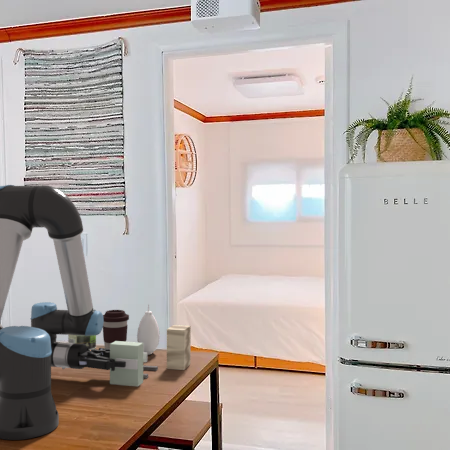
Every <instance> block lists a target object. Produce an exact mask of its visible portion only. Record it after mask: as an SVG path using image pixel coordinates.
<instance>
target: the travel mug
mask: <svg viewBox="0 0 450 450" xmlns="http://www.w3.org/2000/svg"><path fill="white" fill-rule="evenodd" d="M103 319H104V322H103V328H102V336H103V337H102V338H103V339H102V340H103V342H104V348H106V349H110V344H111V343H113V342H115V341H124V342H127V340H128V339H127V338H128V321H129V320H130V315H129V314H128V313H126V311H125V310H124V309H110V310H106V311H105V312H104V314H103Z"/></svg>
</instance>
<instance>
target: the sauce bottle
mask: <svg viewBox="0 0 450 450" xmlns="http://www.w3.org/2000/svg"><path fill="white" fill-rule="evenodd" d="M138 324H139V325H138V328H137V335H136V336H137V337H136V339H137V342H139V343H143V353H148V355H152V354H154V351H156V350H157V349H158V347H159V344H160V337H161V336H160V328H159V323H158V321H157V319H156V317H155V315H154V314H153V311H151V310H150V304H149V303H148V304H147V310H146V311H144V314H143V315H142V317H141V318H140V322H139V323H138Z"/></svg>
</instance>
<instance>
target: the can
mask: <svg viewBox="0 0 450 450" xmlns="http://www.w3.org/2000/svg"><path fill="white" fill-rule="evenodd" d="M93 310H94V311H95V310H96V309H93ZM67 339H68V340H67V341H68V342H67V343H73V344H74V343H77V344H85V345H86V346H87V347H88V349H89V350H92V349H95V348H96V349H97V335H92V336H85V335H68V336H67Z"/></svg>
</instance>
